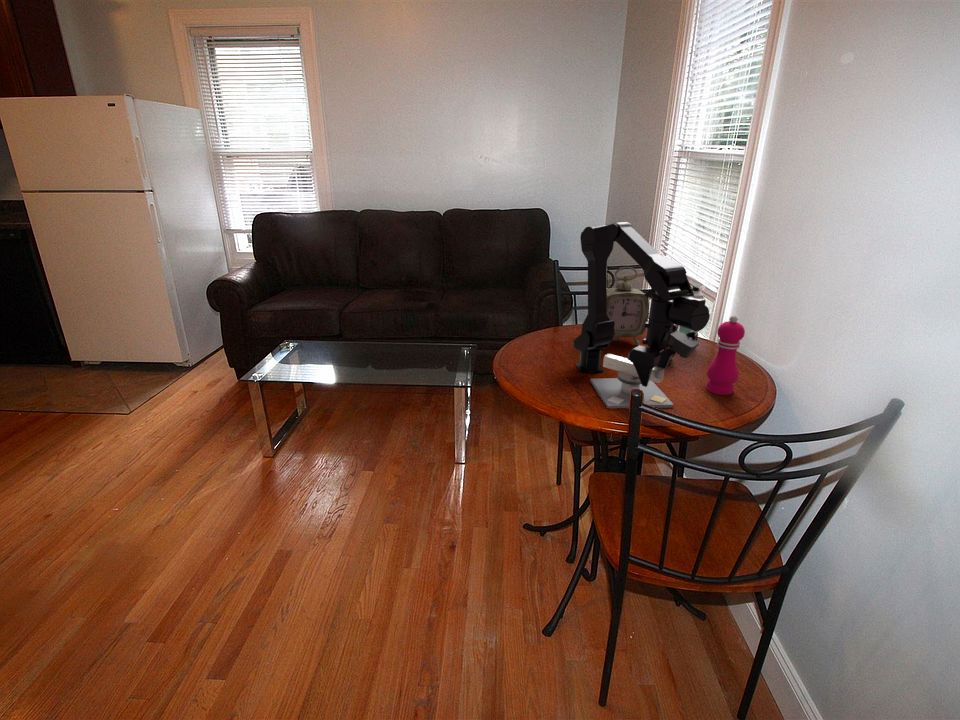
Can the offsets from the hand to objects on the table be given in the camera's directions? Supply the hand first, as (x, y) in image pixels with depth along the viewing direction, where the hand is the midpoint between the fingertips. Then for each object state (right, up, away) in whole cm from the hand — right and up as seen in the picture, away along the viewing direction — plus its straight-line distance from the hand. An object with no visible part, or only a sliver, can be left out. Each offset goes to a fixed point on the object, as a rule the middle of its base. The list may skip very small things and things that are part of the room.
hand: (652, 380), depth 118 cm
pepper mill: (+20, -3, +7) cm, 21 cm away
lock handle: (-4, 0, +4) cm, 6 cm away
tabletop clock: (+3, +11, +41) cm, 43 cm away
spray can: (+23, +9, +36) cm, 44 cm away
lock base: (-4, -4, +5) cm, 8 cm away
